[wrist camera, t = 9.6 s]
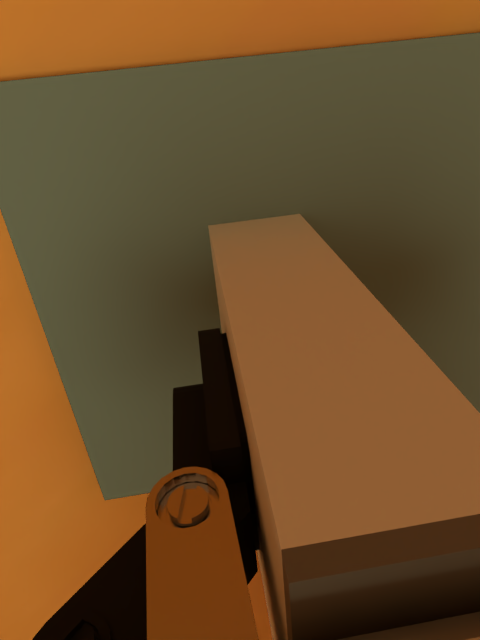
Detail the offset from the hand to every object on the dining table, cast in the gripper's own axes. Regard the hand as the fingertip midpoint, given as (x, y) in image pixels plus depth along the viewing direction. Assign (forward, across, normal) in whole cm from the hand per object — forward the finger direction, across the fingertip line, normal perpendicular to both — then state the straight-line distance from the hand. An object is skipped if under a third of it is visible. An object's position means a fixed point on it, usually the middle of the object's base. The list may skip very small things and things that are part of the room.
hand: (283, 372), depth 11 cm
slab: (+3, 0, 0) cm, 3 cm away
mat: (+4, -2, 0) cm, 4 cm away
